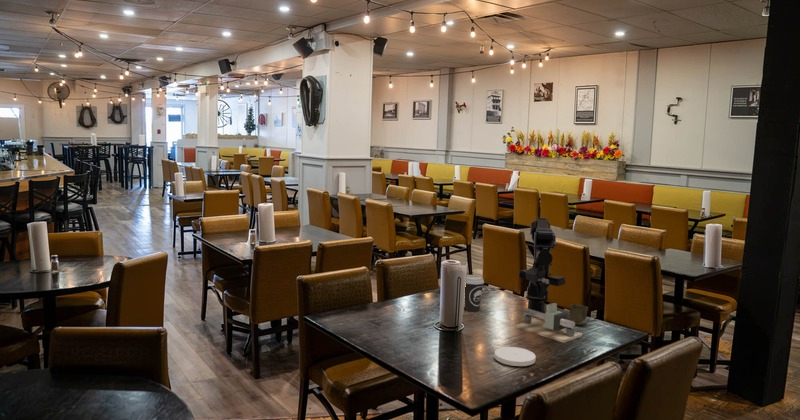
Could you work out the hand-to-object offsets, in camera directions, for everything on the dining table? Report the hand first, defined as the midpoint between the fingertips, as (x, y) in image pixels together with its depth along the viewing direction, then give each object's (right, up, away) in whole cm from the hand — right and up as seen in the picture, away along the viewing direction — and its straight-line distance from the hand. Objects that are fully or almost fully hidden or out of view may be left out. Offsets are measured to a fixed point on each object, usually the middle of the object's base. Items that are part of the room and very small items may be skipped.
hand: (540, 298), depth 233 cm
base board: (+3, -13, -2) cm, 14 cm away
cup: (+18, -13, +8) cm, 23 cm away
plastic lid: (-17, -17, -34) cm, 41 cm away
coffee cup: (-25, -9, +25) cm, 37 cm away
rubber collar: (+6, -11, -6) cm, 14 cm away
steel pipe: (+3, -13, -2) cm, 14 cm away
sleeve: (+4, -11, -4) cm, 12 cm away
